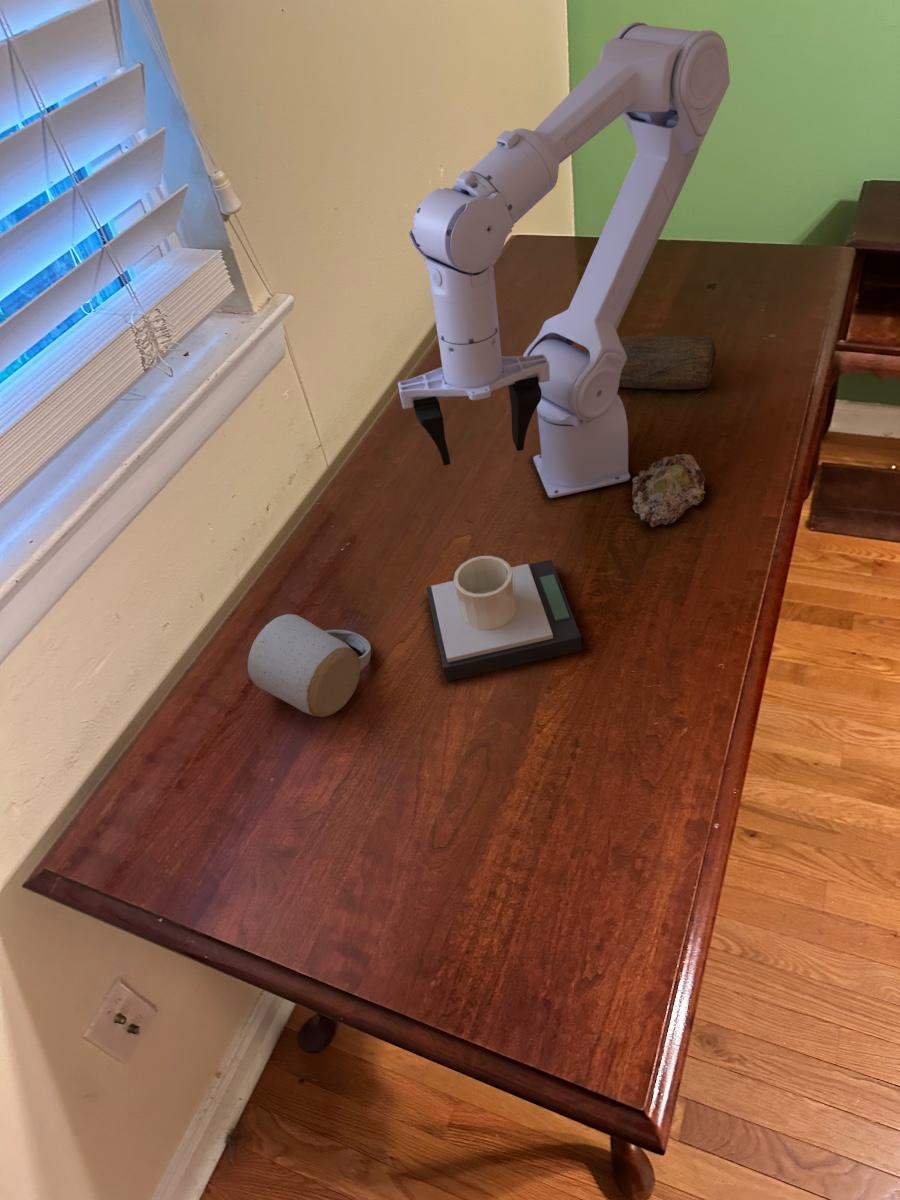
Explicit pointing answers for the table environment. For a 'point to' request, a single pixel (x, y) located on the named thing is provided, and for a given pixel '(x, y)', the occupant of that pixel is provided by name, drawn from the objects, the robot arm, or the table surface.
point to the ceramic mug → (307, 664)
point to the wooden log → (667, 362)
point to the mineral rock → (668, 489)
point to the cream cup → (485, 592)
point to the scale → (506, 626)
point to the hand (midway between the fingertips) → (482, 452)
